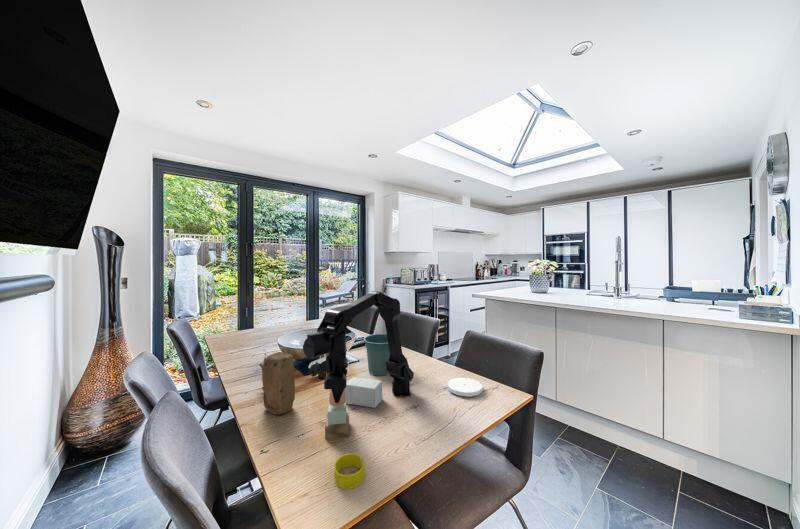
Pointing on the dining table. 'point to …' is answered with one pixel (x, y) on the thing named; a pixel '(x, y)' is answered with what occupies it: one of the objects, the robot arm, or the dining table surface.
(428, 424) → the dining table surface
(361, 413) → the dining table surface
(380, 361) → the flower pot
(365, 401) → the supplement box
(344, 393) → the brown oval piece
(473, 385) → the plastic lid
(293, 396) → the block
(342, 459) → the bracelet
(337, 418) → the top block
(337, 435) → the bottom block
